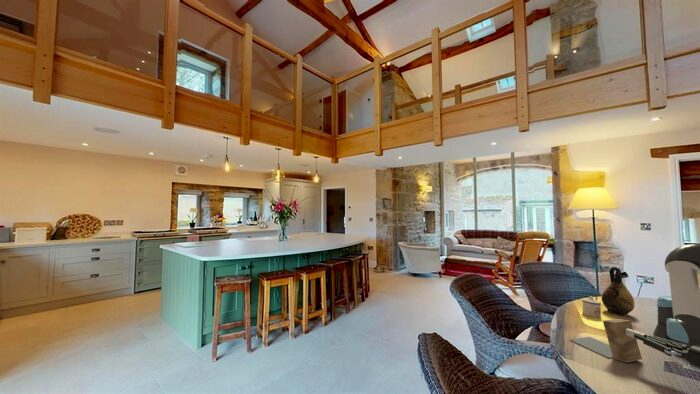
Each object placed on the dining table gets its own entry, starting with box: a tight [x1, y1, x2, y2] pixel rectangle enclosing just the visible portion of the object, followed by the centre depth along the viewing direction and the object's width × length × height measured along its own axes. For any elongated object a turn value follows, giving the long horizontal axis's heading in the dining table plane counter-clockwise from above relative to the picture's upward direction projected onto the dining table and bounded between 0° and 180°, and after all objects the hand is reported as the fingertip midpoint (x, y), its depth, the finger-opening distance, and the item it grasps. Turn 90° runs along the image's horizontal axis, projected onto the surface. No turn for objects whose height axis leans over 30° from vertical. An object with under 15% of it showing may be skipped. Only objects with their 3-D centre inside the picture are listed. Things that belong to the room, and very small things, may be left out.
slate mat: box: [569, 336, 613, 359], centre depth 131 cm, size 17×14×1 cm
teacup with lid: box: [581, 296, 602, 318], centre depth 173 cm, size 12×9×12 cm
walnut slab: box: [602, 318, 643, 363], centre depth 122 cm, size 5×10×16 cm, turn 105°
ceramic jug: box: [601, 266, 635, 317], centre depth 176 cm, size 17×15×30 cm
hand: (626, 331), depth 120 cm, fingers closed
